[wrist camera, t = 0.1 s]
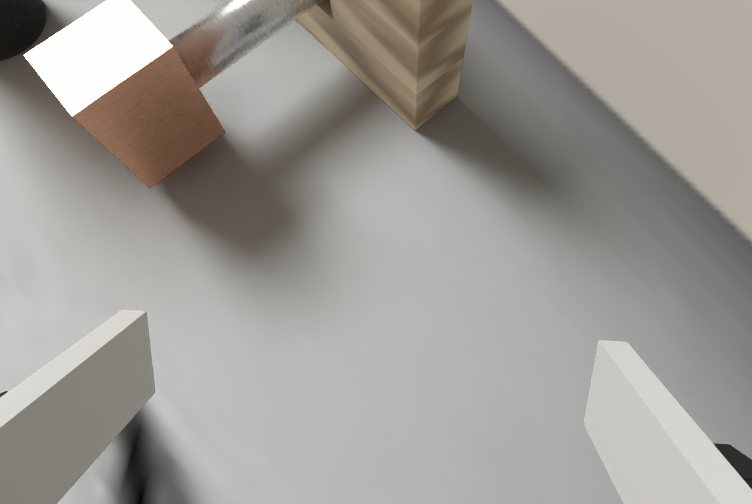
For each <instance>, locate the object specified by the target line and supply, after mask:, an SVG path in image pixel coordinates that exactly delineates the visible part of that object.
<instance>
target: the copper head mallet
mask: <svg viewBox="0 0 752 504" xmlns="http://www.w3.org/2000/svg"><path fill="white" fill-rule="evenodd" d="M321 1H322V0H227V1H225V2H224V3H223V4H221V5H220V6H218V7H217V8H215V9H214V10H212V11H211V12H209V13H208V14H206V15H205V16H204V17H202V18H201V19H199V20H198V21H196V22H195V23H193V24H192V25H190V26H189V27H188V28H186V29H185V30H183V31H182V32H180V33H179V34H177V35H176V36H174V37H173V38H172V39H170V40H169V41H168V40H167V39H166V38H165V37H164V36H163V35H162V34H161V33H160V32H159V31H158V30H157V29H156V27H155V26H154V25H153V24H152V23H151V22H150V21H149V20H148V19H147V18H146V17H145V16H144V15H143V13H142V12H141V11H140V10H139V9H138V8H137V7H136V6H135V5H134V4H133V3H132V2H131V1H130V0H107V1H105V2H104V3H102V4H101V5H99V6H98V7H96V8H95V9H93V10H92V11H90V12H89V13H87V14H86V15H84V16H82V17H81V18H79V19H78V20H76V21H75V22H73V23H72V24H70V25H69V26H67V27H66V28H64V29H63V30H61V31H59V32H58V33H56V34H55V35H53V36H52V37H50V38H49V39H47V40H46V41H44V42H43V43H41V44H40V45H38V46H37V47H35V48H33V49H32V50H30V51H29V52H27V53H26V54H24V56H25V57H26V59H27V60H28V61H29V63H30V64H31V65H32V66H33V68H34V69H35V70H36V71H37V73H38V74H39V75H40V77H41V78H42V79H43V80H44V82H45V83H46V84H47V85H48V87H49V88H50V89H51V90H52V92H53V93H54V94H55V96H56V97H57V98H58V99H59V101H60V102H61V103H62V104H63V106H64V107H65V108H66V109H67V111H68V112H69V113H70V115H71V116H72V117H73V118H74V119H75V120H76V121H77V122H79V123H80V124H81V125H82V126H83V127H84V128H85V129H86V130H87V131H88V132H89V133H90V134H92V135H93V136H94V137H95V138H96V139H97V140H98V141H99V142H100V143H101V144H102V145H103V146H104V147H106V148H107V149H108V150H109V151H110V152H111V153H112V154H113V155H114V156H115V157H116V158H117V159H118V160H120V161H121V162H122V163H123V164H124V165H125V166H126V167H127V168H128V169H129V170H130V171H131V172H132V173H134V174H135V175H136V176H137V177H138V178H139V179H140V180H141V181H142V182H143V183H144V184H145V185H146V186H148V187H149V188H151V187H152V186H153V185H155V184H156V183H157V182H159V181H160V180H162V179H163V178H164V177H166V176H167V175H168V174H170V173H171V172H172V171H174V170H175V169H176V168H178V167H179V166H180V165H182V164H183V163H184V162H186V161H187V160H188V159H190V158H191V157H193V156H194V155H195V154H197V153H198V152H199V151H201V150H202V149H203V148H205V147H206V146H207V145H209V144H210V143H211V142H213V141H214V140H215V139H217V138H218V137H219V136H221V135H222V134H223V133H225V131H224V129H223V127H222V126H221V124H220V122H219V121H218V119H217V117H216V116H215V114H214V113H213V111H212V109H211V108H210V106H209V104H208V103H207V101H206V99H205V98H204V96H203V95H202V93H201V91H200V90H199V88H200V87H202V86H203V85H205V84H206V83H207V82H209V81H210V80H212V79H213V78H214V77H216V76H217V75H218V74H220V73H221V72H223V71H224V70H225V69H227V68H228V67H230V66H231V65H232V64H234V63H235V62H237V61H238V60H239V59H241V58H242V57H244V56H245V55H246V54H248V53H249V52H251V51H252V50H253V49H255V48H256V47H258V46H259V45H260V44H262V43H263V42H265V41H266V40H267V39H269V38H270V37H272V36H273V35H274V34H276V33H277V32H279V31H280V30H281V29H283V28H284V27H286V26H287V25H288V24H290V23H291V22H293V21H294V20H295V19H297V18H298V17H300V16H301V15H302V14H304V13H305V12H307V11H308V10H309V9H311V8H312V7H314V6H315V5H316V4H318V3H319V2H321Z"/></svg>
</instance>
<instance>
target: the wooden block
mask: <svg viewBox="0 0 752 504" xmlns="http://www.w3.org/2000/svg"><path fill="white" fill-rule="evenodd" d="M472 2H473V0H322V1H321V2H319V3H318V4H316V5H315V6H314V7H312V8H311V9H309V10H308V11H307V12H305V13H304V14H302V15H301V16H300V17H298V18H297V19H296V20H297V21H298V22H299V23H300V24H302V25H303V26H304V27H305V28H306V29H307V30H308V31H309V32H310V33H311V34H312V35H313V36H314V37H315V38H316V39H318V40H319V41H320V42H321V43H322V44H323V45H324V46H325V47H326V48H327V49H328V50H329V51H330V52H331V53H332V54H334V55H335V56H336V57H337V58H338V59H339V60H340V61H341V62H342V63H343V64H344V65H345V66H346V67H347V68H349V69H350V70H351V71H352V72H353V73H354V74H355V75H356V76H357V77H358V78H359V79H360V80H361V81H362V82H363V83H365V84H366V85H367V86H368V87H369V88H370V89H371V90H372V91H373V92H374V93H375V94H376V95H377V96H378V97H379V98H381V99H382V100H383V101H384V102H385V103H386V104H387V105H388V106H389V107H390V108H391V109H392V110H393V111H394V112H396V113H397V114H398V115H399V116H400V117H401V118H402V119H403V120H404V121H405V122H406V123H407V124H408V125H409V126H410V127H412V128H413V129H414V130H416V129H418V128H419V127H420V126H421V125H423V124H424V123H425V122H426V121H428V120H429V119H430V118H431V117H433V116H434V115H435V114H436V113H438V112H439V111H440V110H441V109H442V108H444V107H445V106H446V105H447V104H449V103H450V102H451V101H452V100H454V99H455V98H456V97H457V94H458V88H459V82H460V76H461V70H462V63H463V57H464V51H465V45H466V39H467V33H468V27H469V21H470V14H471V8H472Z"/></svg>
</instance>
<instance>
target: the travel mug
mask: <svg viewBox="0 0 752 504" xmlns="http://www.w3.org/2000/svg"><path fill="white" fill-rule="evenodd" d="M45 21H46V10H45V7H44V4H43V2H42V1H41V0H0V60H3V59H6V58H9V57H12V56H14V55H16V54H18V53H20V52H22V51H23V50H25V49H26V48H28V47H29V46H30V45H31V44H32V43H33V42H34V41H35V40H36V39H37V38H38V36H39V35H40V33H41V32H42V30H43V27H44V25H45Z"/></svg>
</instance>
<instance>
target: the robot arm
mask: <svg viewBox="0 0 752 504" xmlns="http://www.w3.org/2000/svg"><path fill="white" fill-rule="evenodd" d="M154 393H155V384H154V375H153V366H152V357H151V348H150V339H149V329H148V320H147V311H136V310H120V311H119V312H118V313H116V314H115V315H114V316H112V317H111V318H109V319H108V320H107V321H105V322H104V323H102V324H101V325H100V326H98V327H97V328H96V329H94V330H93V331H91V332H90V333H89V334H87V335H86V336H85V337H83V338H82V339H80V340H79V341H78V342H76V343H75V344H73V345H72V346H71V347H69V348H68V349H67V350H65V351H64V352H62V353H61V354H60V355H58V356H57V357H56V358H54V359H53V360H51V361H50V362H49V363H47V364H46V365H44V366H43V367H42V368H40V369H39V370H38V371H36V372H35V373H33V374H32V375H31V376H29V377H28V378H27V379H25V380H24V381H22V382H21V383H20V384H18V385H17V386H15V387H14V388H13V389H11V390H10V391H5V392H3V393H1V394H0V504H57V503H58V502H59V501H60V499H61V498H62V497H63V496H64V495H65V494H66V493H67V492H68V490H69V489H70V488H71V487H72V486H73V485H74V484H75V482H76V481H77V480H78V479H79V478H80V477H81V476H82V475H83V473H84V472H85V471H86V470H87V469H88V468H89V467H90V466H91V464H92V463H93V462H94V461H95V460H96V459H97V458H98V456H99V455H100V454H101V453H102V452H103V451H104V450H105V449H106V447H107V446H108V445H109V444H110V443H111V442H112V441H113V439H114V438H115V437H116V436H117V435H118V434H119V433H120V432H121V430H122V429H123V428H124V427H125V426H126V425H127V424H128V423H129V421H130V420H131V419H132V418H133V417H134V416H135V415H136V413H137V412H138V411H139V410H140V409H141V408H142V407H143V406H144V404H145V403H146V402H147V401H148V400H149V399H150V398H151V396H152V395H153V394H154ZM584 426H585V428H586V430H587V432H588V434H589V436H590V438H591V440H592V442H593V444H594V446H595V448H596V450H597V452H598V454H599V456H600V458H601V460H602V462H603V464H604V466H605V468H606V470H607V472H608V473H609V475H610V477H611V479H612V481H613V483H614V485H615V487H616V489H617V491H618V493H619V495H620V497H621V499H622V501H623V503H624V504H752V460H751V459H750V458H748V457H747V456H745V455H744V454H742V453H741V452H740V451H738V450H737V449H735V448H734V447H732V446H731V445H728V444H714V443H712V442H711V441H710V440H709V438H708V437H707V436H706V435H705V434H704V433H703V431H702V430H701V429H700V428H699V427H698V425H697V424H696V423H695V422H694V421H693V420H692V418H691V417H690V416H689V415H688V414H687V412H686V411H685V410H684V409H683V408H682V407H681V405H680V404H679V403H678V402H677V401H676V400H675V398H674V397H673V396H672V395H671V394H670V392H669V391H668V390H667V389H666V388H665V387H664V385H663V384H662V383H661V382H660V381H659V379H658V378H657V377H656V376H655V375H654V374H653V372H652V371H651V370H650V369H649V368H648V366H647V365H646V364H645V363H644V362H643V361H642V359H641V358H640V357H639V356H638V355H637V354H636V352H635V351H634V350H633V349H632V348H631V346H630V345H629V344H628V343H627V342H620V341H604V340H599V341H598V346H597V352H596V358H595V363H594V369H593V374H592V380H591V385H590V391H589V396H588V402H587V407H586V413H585V419H584Z"/></svg>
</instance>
